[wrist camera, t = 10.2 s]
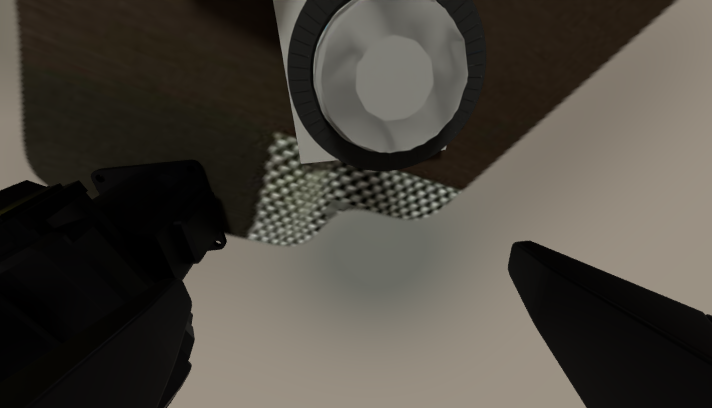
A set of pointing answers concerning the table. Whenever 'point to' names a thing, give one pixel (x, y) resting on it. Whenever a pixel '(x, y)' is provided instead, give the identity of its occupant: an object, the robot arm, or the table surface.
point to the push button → (385, 77)
